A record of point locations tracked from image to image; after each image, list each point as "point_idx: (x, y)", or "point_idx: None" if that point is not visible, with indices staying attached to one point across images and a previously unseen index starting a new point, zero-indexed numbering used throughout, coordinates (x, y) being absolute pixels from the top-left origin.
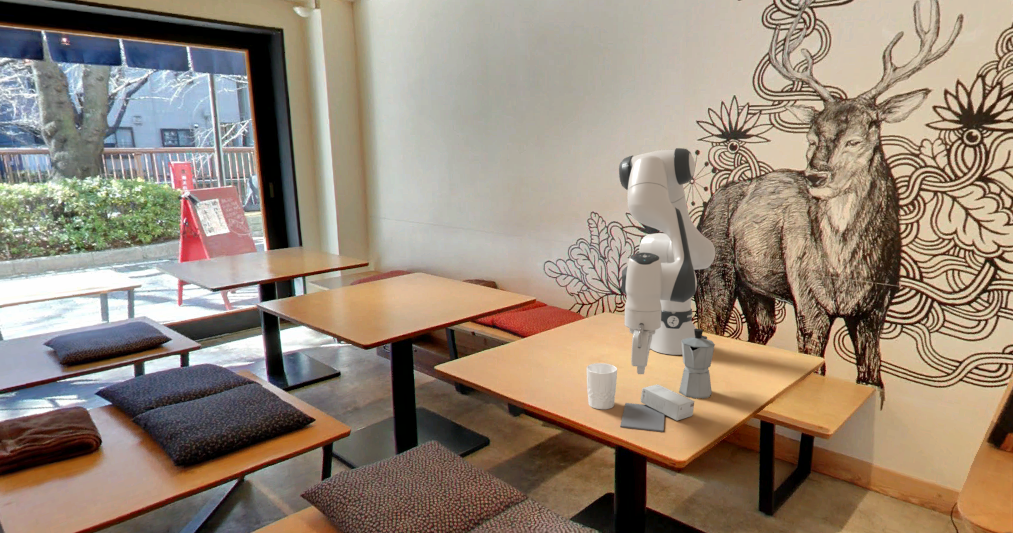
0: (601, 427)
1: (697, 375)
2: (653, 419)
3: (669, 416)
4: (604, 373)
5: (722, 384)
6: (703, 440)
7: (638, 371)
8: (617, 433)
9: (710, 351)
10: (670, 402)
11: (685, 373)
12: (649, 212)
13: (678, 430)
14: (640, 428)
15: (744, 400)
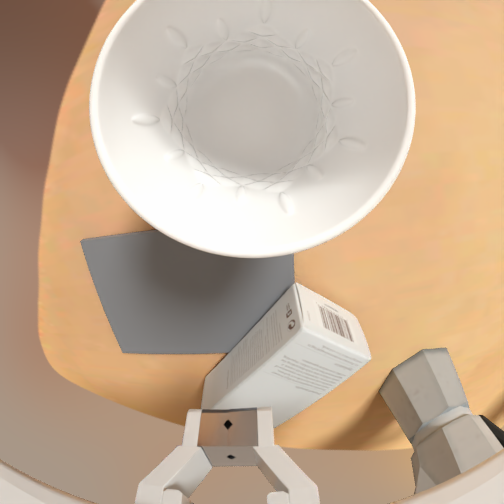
0: (55, 182)
1: (408, 434)
2: (176, 329)
3: (217, 365)
4: (103, 166)
5: None
6: (139, 408)
7: (187, 424)
8: (48, 240)
9: None
10: (215, 401)
11: (435, 407)
12: None
13: (155, 377)
14: (101, 299)
15: (373, 438)
